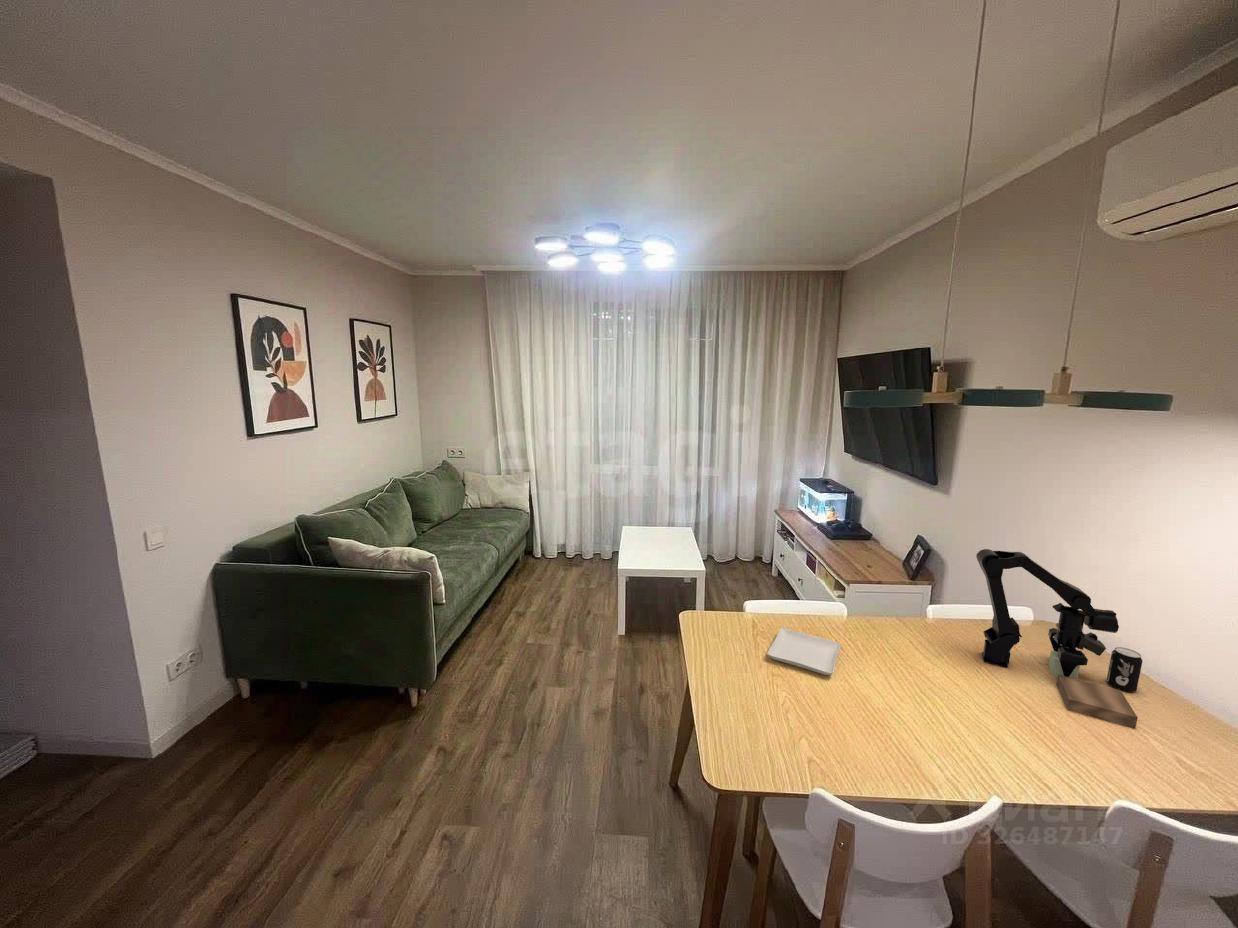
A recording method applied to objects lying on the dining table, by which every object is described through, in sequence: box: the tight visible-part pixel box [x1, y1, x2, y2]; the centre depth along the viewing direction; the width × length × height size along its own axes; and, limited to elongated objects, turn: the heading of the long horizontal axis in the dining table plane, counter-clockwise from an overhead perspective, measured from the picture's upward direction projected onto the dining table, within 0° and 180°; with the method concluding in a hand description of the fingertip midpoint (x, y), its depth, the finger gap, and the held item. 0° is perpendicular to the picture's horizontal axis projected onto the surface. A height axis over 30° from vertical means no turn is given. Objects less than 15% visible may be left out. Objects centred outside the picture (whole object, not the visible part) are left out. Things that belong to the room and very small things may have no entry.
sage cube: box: [1047, 649, 1081, 680], centre depth 154 cm, size 6×6×6 cm
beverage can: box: [1106, 646, 1143, 693], centre depth 147 cm, size 7×7×12 cm
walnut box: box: [1055, 675, 1139, 730], centre depth 139 cm, size 14×14×4 cm
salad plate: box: [766, 627, 842, 676], centre depth 164 cm, size 21×21×3 cm
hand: (1062, 669), depth 154 cm, fingers open, 9 cm apart
